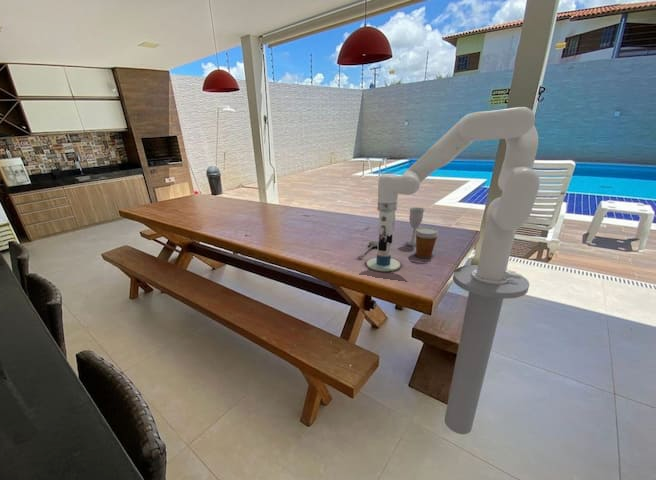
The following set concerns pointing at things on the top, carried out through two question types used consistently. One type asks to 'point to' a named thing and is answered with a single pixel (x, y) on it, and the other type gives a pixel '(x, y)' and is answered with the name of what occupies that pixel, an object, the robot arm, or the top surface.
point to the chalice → (415, 221)
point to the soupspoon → (372, 244)
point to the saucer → (393, 266)
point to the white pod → (385, 253)
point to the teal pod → (383, 260)
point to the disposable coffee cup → (425, 241)
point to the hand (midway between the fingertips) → (385, 246)
